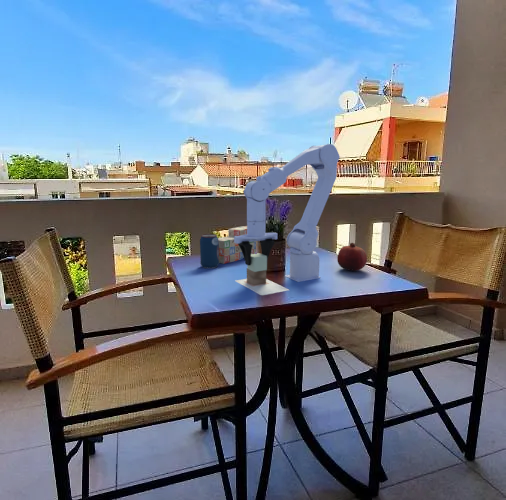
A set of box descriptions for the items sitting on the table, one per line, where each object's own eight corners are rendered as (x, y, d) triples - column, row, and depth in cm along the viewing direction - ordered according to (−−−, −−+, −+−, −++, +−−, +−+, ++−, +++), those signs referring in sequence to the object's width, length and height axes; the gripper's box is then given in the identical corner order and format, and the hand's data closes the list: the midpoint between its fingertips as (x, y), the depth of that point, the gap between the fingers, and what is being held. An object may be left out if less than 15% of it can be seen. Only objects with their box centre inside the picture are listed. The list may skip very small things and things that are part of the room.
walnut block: (258, 279, 122) (258, 266, 121) (266, 283, 118) (266, 269, 117) (246, 281, 120) (246, 268, 119) (253, 285, 116) (253, 271, 115)
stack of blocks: (224, 264, 144) (223, 233, 142) (213, 262, 148) (212, 231, 146) (258, 254, 161) (258, 226, 158) (247, 252, 164) (247, 225, 162)
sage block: (259, 266, 121) (259, 253, 120) (266, 269, 117) (266, 255, 116) (247, 268, 118) (247, 254, 117) (254, 271, 115) (254, 257, 114)
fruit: (331, 267, 138) (332, 241, 136) (354, 265, 141) (356, 239, 139) (347, 275, 128) (348, 247, 126) (371, 273, 131) (373, 245, 129)
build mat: (260, 277, 126) (260, 276, 126) (290, 291, 112) (290, 289, 112) (234, 281, 121) (234, 280, 121) (261, 296, 107) (261, 295, 107)
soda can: (222, 267, 140) (221, 235, 137) (206, 269, 136) (205, 237, 134) (213, 263, 146) (212, 233, 143) (197, 265, 142) (196, 234, 139)
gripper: (269, 217, 122) (269, 258, 124) (229, 220, 115) (230, 263, 117) (281, 220, 116) (280, 262, 118) (240, 223, 109) (240, 268, 111)
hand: (256, 263), depth 118 cm, fingers open, 5 cm apart
